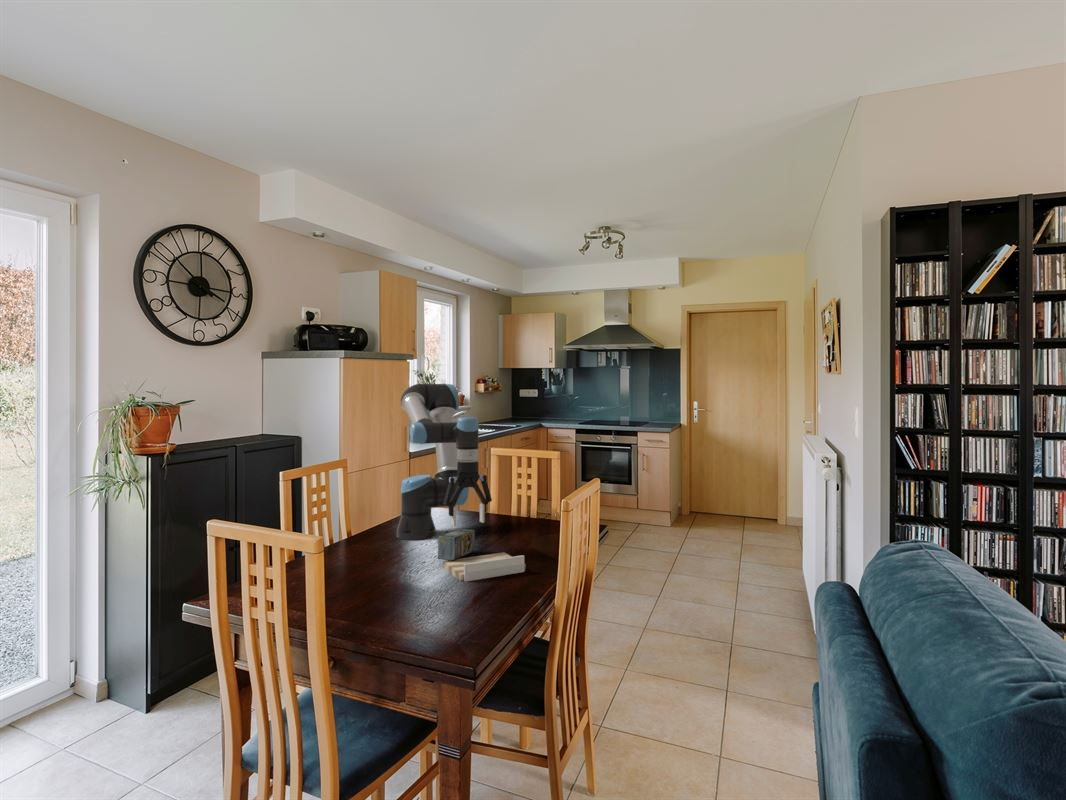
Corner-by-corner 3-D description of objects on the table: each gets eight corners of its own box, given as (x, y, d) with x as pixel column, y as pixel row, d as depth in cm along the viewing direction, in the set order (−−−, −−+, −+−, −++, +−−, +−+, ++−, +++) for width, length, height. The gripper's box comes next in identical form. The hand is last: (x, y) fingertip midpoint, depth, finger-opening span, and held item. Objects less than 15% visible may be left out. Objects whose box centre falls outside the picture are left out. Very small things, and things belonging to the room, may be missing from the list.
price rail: (463, 580, 165) (463, 564, 165) (522, 571, 175) (522, 555, 175) (465, 581, 164) (465, 565, 164) (524, 572, 174) (524, 556, 174)
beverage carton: (453, 561, 178) (434, 559, 180) (475, 552, 196) (458, 550, 198) (454, 536, 178) (436, 535, 180) (476, 529, 197) (459, 528, 199)
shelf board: (443, 567, 179) (443, 561, 179) (504, 558, 189) (504, 552, 189) (460, 581, 165) (460, 574, 165) (525, 570, 175) (525, 564, 175)
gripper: (440, 463, 186) (440, 529, 186) (501, 460, 197) (501, 522, 197) (433, 461, 193) (433, 524, 193) (492, 458, 204) (492, 518, 204)
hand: (468, 523), depth 195 cm, fingers open, 10 cm apart
